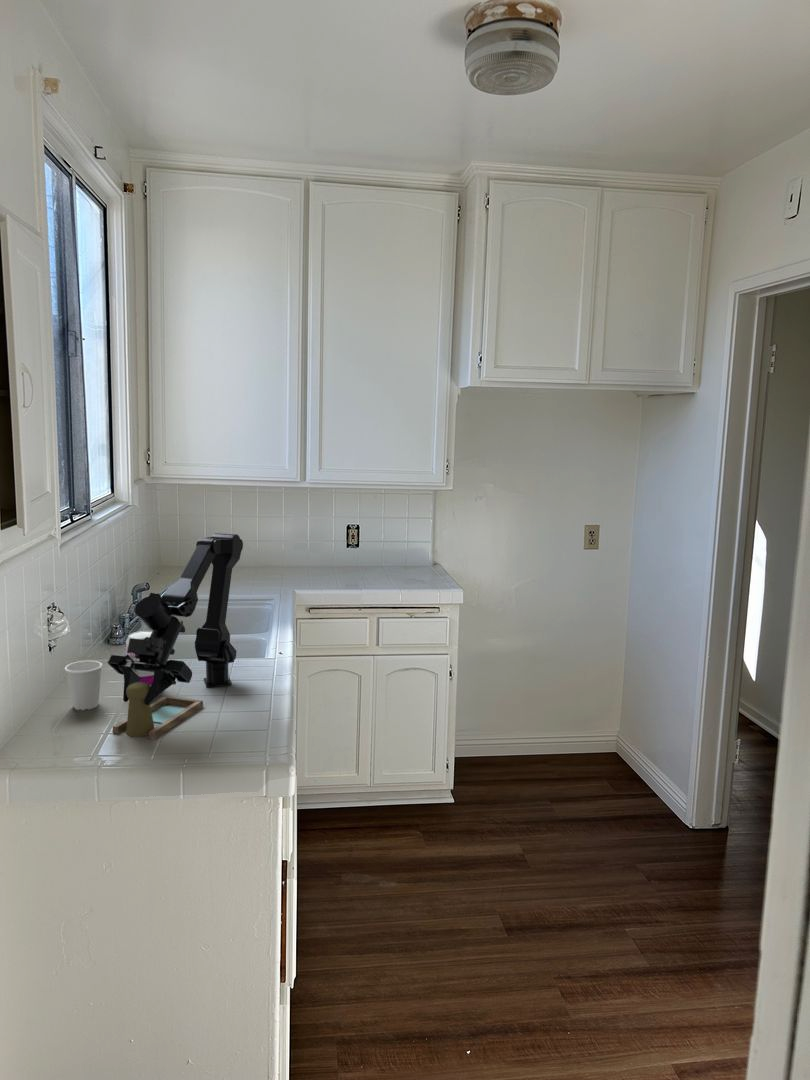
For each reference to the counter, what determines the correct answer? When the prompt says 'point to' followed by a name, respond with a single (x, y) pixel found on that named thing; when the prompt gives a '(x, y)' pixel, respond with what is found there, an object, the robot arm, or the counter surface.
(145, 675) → the supplement can
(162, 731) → the rail track
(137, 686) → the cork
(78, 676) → the dixie cup
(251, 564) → the counter surface
